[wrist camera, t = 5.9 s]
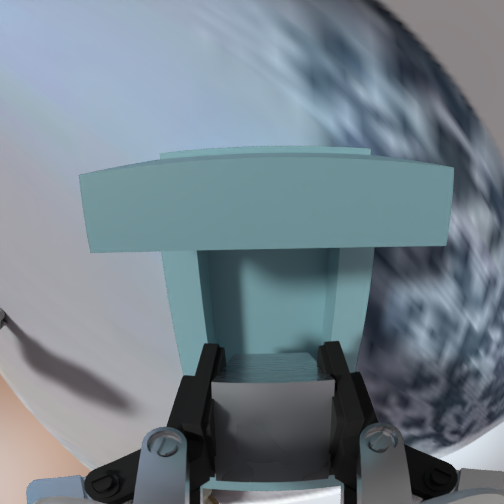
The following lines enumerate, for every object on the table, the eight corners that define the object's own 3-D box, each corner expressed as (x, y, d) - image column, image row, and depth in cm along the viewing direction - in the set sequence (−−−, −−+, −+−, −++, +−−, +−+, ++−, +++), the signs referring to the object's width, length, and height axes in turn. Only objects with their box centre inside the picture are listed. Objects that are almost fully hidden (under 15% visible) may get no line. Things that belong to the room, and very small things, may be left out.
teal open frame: (167, 152, 14) (77, 164, 7) (362, 148, 14) (454, 156, 6) (199, 390, 20) (176, 486, 12) (338, 388, 19) (361, 484, 12)
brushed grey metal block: (233, 353, 14) (211, 382, 8) (307, 352, 14) (334, 379, 8) (235, 420, 13) (216, 480, 7) (306, 419, 13) (328, 478, 7)
